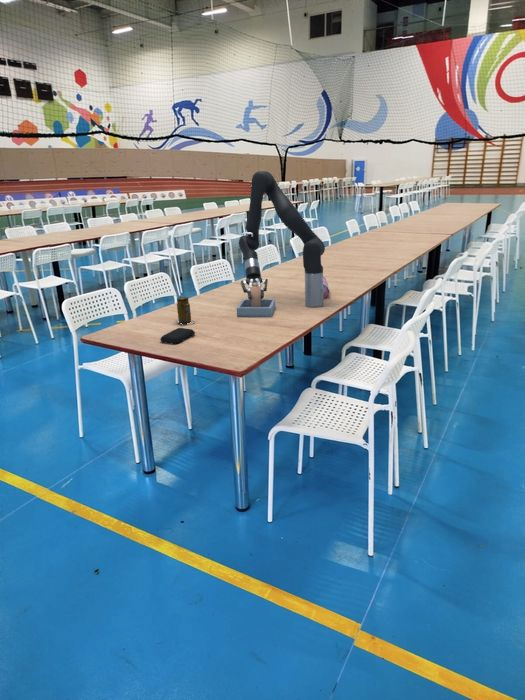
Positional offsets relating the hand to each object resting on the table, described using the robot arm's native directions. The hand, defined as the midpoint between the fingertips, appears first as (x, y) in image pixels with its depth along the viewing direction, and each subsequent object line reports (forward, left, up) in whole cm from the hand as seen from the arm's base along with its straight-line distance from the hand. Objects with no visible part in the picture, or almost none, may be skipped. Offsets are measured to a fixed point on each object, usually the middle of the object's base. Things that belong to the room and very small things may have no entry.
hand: (256, 298), depth 236 cm
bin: (+1, -2, -8) cm, 8 cm away
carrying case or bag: (+28, +38, -8) cm, 48 cm away
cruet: (+1, -2, -5) cm, 6 cm away
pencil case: (-30, -36, -8) cm, 47 cm away
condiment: (+33, +15, -8) cm, 37 cm away
